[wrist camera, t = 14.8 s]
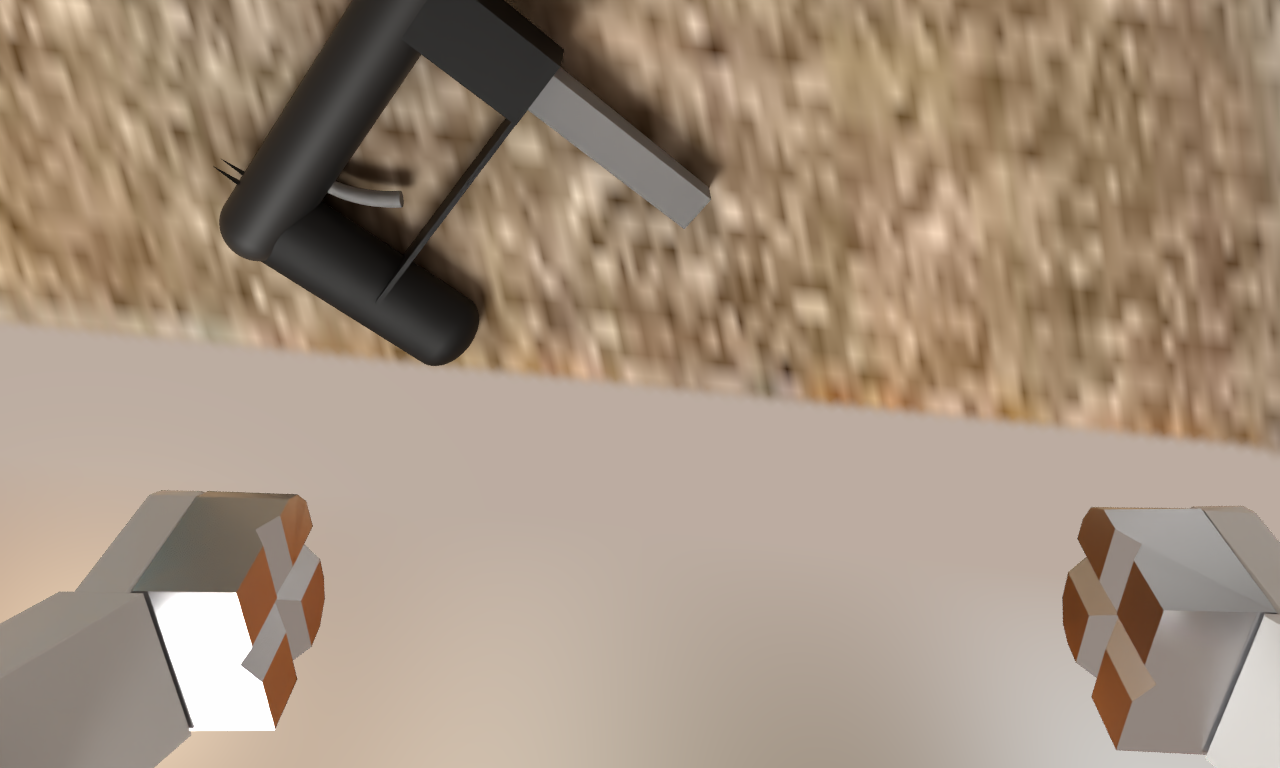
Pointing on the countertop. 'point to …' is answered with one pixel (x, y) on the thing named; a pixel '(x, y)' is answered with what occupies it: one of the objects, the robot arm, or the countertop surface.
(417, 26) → the door handle
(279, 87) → the countertop surface
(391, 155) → the countertop surface
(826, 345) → the countertop surface
